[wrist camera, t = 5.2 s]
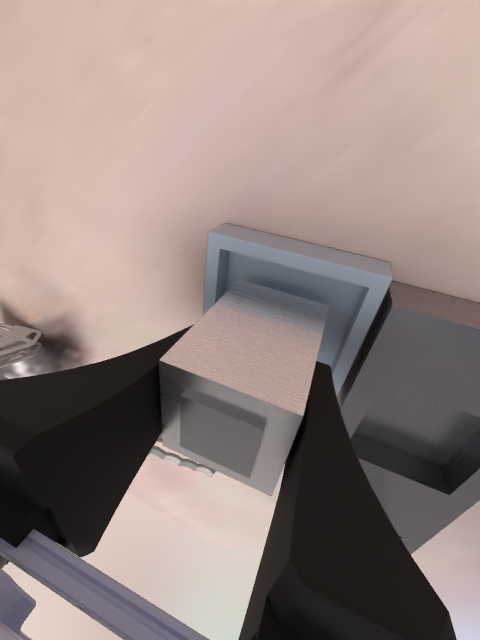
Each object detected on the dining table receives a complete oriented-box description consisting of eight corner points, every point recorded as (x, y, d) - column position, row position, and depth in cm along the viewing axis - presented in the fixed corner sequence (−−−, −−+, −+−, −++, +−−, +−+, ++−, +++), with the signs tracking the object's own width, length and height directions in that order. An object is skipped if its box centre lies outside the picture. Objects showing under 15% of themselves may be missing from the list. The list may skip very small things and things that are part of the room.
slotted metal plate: (587, 330, 10) (640, 373, 8) (365, 551, 22) (364, 590, 20) (388, 280, 12) (393, 305, 10) (281, 511, 24) (273, 543, 22)
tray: (389, 262, 12) (392, 277, 10) (333, 387, 16) (330, 410, 14) (224, 223, 13) (208, 231, 12) (213, 344, 18) (199, 361, 16)
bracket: (-27, 309, 23) (-147, 427, 15) (221, 366, 29) (221, 468, 22) (-21, 335, 24) (-125, 452, 17) (210, 383, 31) (208, 482, 24)
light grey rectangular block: (329, 305, 11) (301, 422, 6) (304, 375, 14) (269, 503, 9) (238, 279, 12) (154, 364, 7) (229, 348, 15) (159, 450, 10)
